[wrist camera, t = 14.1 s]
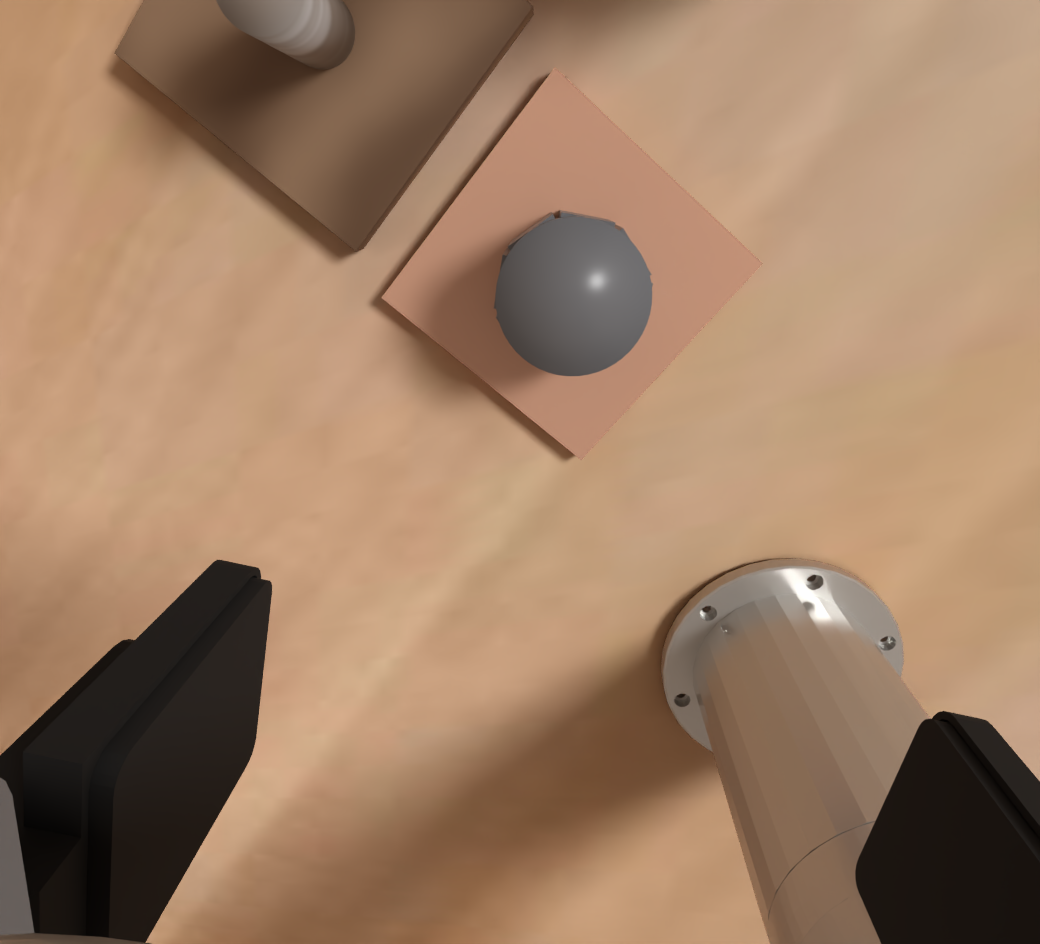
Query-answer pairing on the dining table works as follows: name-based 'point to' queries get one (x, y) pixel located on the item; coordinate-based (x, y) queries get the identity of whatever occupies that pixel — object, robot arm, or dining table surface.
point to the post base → (326, 87)
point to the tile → (550, 188)
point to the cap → (573, 294)
